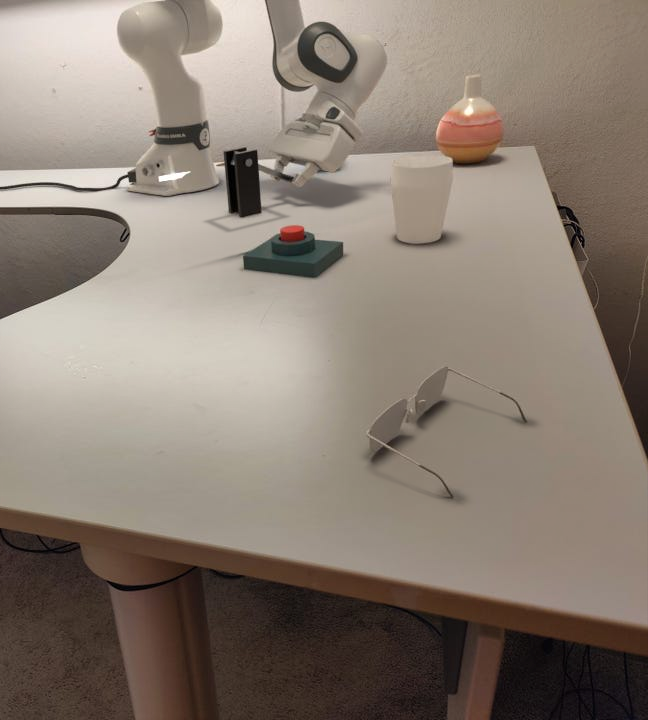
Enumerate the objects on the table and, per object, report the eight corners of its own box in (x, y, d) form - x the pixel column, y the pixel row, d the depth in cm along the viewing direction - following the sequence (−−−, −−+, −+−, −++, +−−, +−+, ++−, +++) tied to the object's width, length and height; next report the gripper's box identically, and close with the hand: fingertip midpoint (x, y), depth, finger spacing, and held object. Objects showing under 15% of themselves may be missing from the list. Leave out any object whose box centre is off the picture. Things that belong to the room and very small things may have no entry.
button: (276, 242, 101) (275, 231, 100) (287, 235, 103) (287, 224, 102) (297, 244, 99) (297, 233, 98) (308, 237, 101) (308, 226, 100)
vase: (514, 157, 145) (523, 70, 137) (475, 170, 139) (482, 80, 131) (460, 152, 156) (465, 71, 148) (421, 164, 150) (425, 80, 142)
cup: (386, 246, 104) (388, 169, 98) (392, 229, 111) (393, 156, 106) (448, 246, 101) (453, 166, 95) (449, 228, 108) (454, 153, 103)
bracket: (260, 208, 133) (256, 142, 127) (285, 216, 125) (281, 147, 119) (207, 221, 129) (200, 153, 123) (228, 231, 121) (222, 159, 115)
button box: (243, 269, 102) (241, 244, 101) (275, 248, 109) (273, 225, 108) (315, 278, 96) (314, 251, 94) (343, 255, 103) (343, 230, 101)
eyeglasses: (444, 393, 65) (450, 358, 63) (528, 426, 60) (537, 389, 58) (362, 462, 57) (365, 424, 55) (449, 506, 52) (457, 466, 50)
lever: (278, 182, 131) (283, 170, 130) (296, 188, 125) (301, 175, 125) (224, 162, 124) (228, 149, 124) (241, 166, 119) (245, 153, 118)
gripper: (286, 106, 133) (247, 165, 134) (349, 113, 116) (304, 180, 117) (305, 125, 137) (267, 183, 138) (369, 135, 120) (325, 200, 121)
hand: (284, 182), depth 127 cm, fingers closed on lever, 6 cm apart
